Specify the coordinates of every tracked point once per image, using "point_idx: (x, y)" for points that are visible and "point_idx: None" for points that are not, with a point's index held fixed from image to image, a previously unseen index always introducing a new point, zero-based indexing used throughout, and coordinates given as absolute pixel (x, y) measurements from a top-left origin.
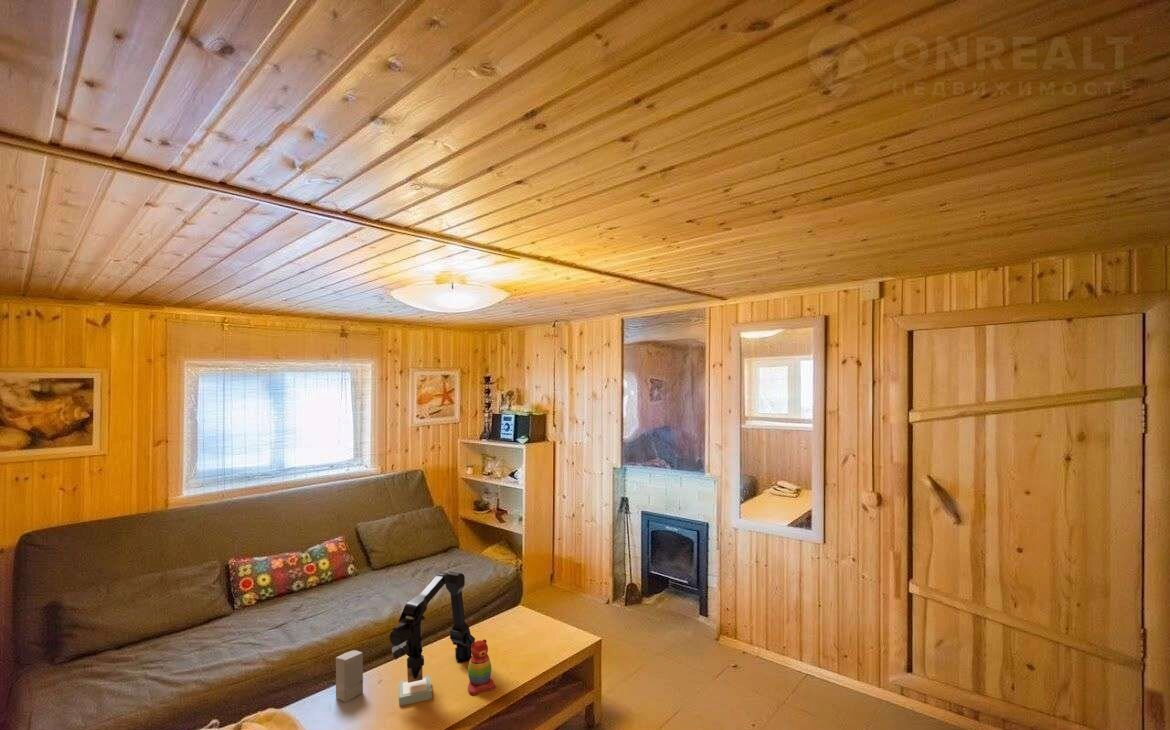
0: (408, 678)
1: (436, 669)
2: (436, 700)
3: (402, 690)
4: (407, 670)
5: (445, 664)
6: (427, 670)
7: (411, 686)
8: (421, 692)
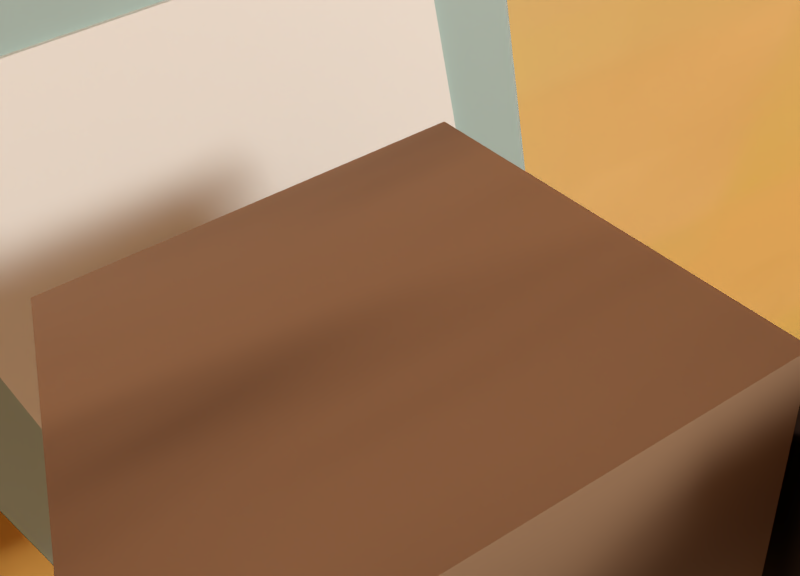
0: (45, 401)
1: (733, 245)
2: (27, 569)
3: (59, 20)
4: (405, 315)
5: (776, 298)
6: (760, 145)
7: (234, 198)
8: (3, 481)
